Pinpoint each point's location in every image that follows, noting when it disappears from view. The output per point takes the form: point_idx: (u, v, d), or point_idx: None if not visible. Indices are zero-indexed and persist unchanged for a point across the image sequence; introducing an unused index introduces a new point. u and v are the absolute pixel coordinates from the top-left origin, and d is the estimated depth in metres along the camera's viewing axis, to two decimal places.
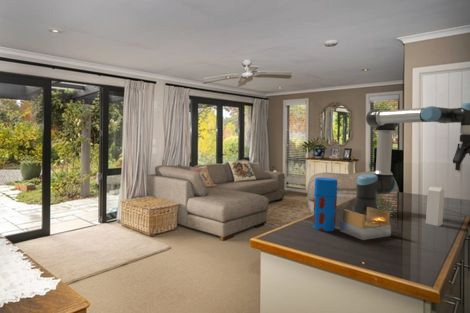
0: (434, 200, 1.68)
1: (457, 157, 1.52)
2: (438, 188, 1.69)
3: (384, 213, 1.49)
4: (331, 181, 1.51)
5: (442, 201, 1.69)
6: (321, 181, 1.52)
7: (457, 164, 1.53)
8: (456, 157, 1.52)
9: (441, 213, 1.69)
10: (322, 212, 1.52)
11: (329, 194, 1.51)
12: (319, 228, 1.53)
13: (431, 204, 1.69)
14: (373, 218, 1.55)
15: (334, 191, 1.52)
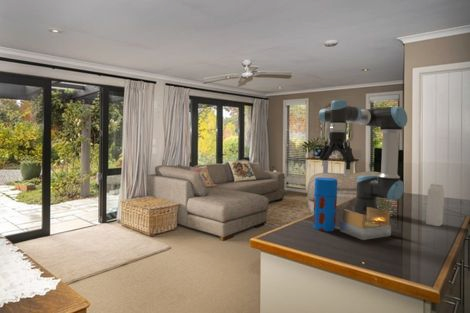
0: (434, 200, 1.68)
1: None
2: (438, 188, 1.69)
3: (384, 213, 1.49)
4: (331, 181, 1.51)
5: (442, 201, 1.69)
6: (321, 181, 1.52)
7: None
8: None
9: (441, 213, 1.69)
10: (322, 212, 1.52)
11: (329, 194, 1.51)
12: (319, 228, 1.53)
13: (431, 204, 1.69)
14: (373, 218, 1.55)
15: (334, 191, 1.52)
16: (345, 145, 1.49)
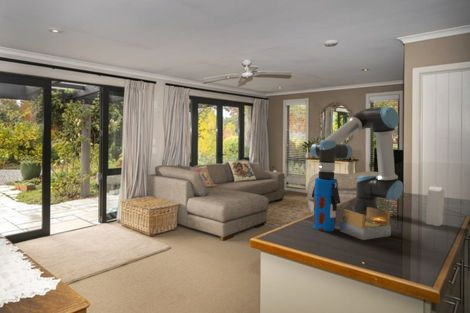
0: (434, 200, 1.68)
1: None
2: (438, 188, 1.69)
3: (384, 213, 1.49)
4: (331, 181, 1.51)
5: (442, 201, 1.69)
6: (321, 181, 1.52)
7: None
8: None
9: (441, 213, 1.69)
10: (322, 212, 1.52)
11: (329, 194, 1.51)
12: (319, 228, 1.53)
13: (431, 204, 1.69)
14: (373, 218, 1.55)
15: None
16: (333, 186, 1.50)
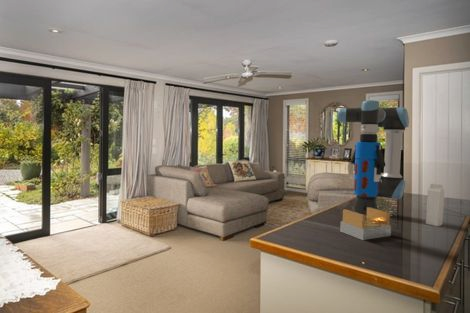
0: (434, 200, 1.68)
1: None
2: (438, 188, 1.69)
3: (384, 213, 1.49)
4: (375, 143, 1.43)
5: (442, 201, 1.69)
6: (364, 143, 1.44)
7: None
8: None
9: (441, 213, 1.69)
10: (365, 176, 1.44)
11: (373, 157, 1.43)
12: (361, 193, 1.46)
13: (431, 204, 1.69)
14: (373, 218, 1.55)
15: None
16: (377, 149, 1.42)
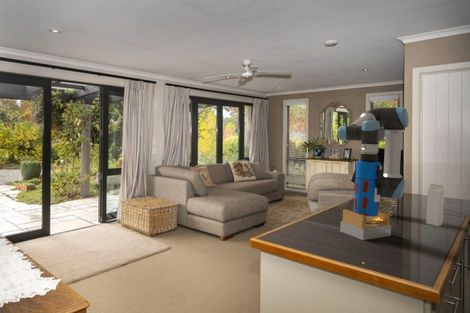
0: (434, 200, 1.68)
1: None
2: (438, 188, 1.69)
3: (384, 213, 1.49)
4: (375, 163, 1.43)
5: (442, 201, 1.69)
6: (364, 163, 1.44)
7: None
8: None
9: (441, 213, 1.69)
10: (365, 196, 1.44)
11: (373, 177, 1.43)
12: (362, 213, 1.46)
13: (431, 204, 1.69)
14: (373, 218, 1.55)
15: None
16: (377, 169, 1.42)
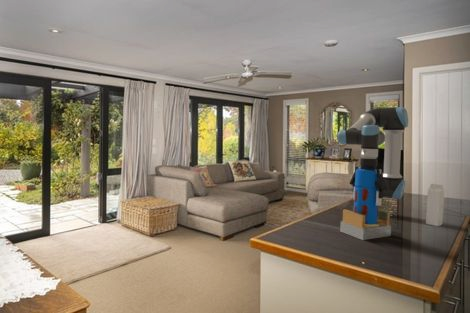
0: (434, 200, 1.68)
1: None
2: (438, 188, 1.69)
3: (384, 213, 1.49)
4: (375, 172, 1.44)
5: (442, 201, 1.69)
6: (364, 172, 1.45)
7: None
8: None
9: (441, 213, 1.69)
10: (365, 204, 1.45)
11: (373, 185, 1.44)
12: None
13: (431, 204, 1.69)
14: None
15: None
16: (377, 173, 1.42)
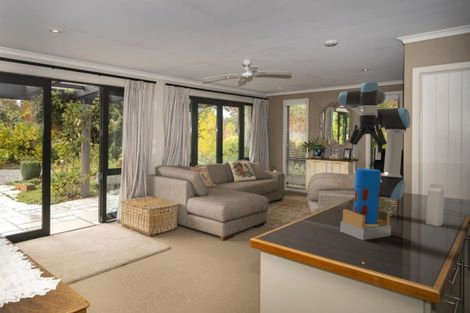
0: (434, 200, 1.68)
1: None
2: (438, 188, 1.69)
3: (384, 213, 1.49)
4: (375, 172, 1.44)
5: (442, 201, 1.69)
6: (364, 172, 1.45)
7: None
8: None
9: (441, 213, 1.69)
10: (365, 204, 1.45)
11: (373, 185, 1.44)
12: None
13: (431, 204, 1.69)
14: None
15: (378, 182, 1.45)
16: (377, 128, 1.46)
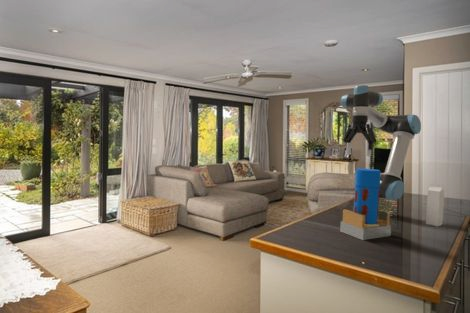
0: (434, 200, 1.68)
1: None
2: (438, 188, 1.69)
3: (384, 213, 1.49)
4: (375, 172, 1.44)
5: (442, 201, 1.69)
6: (364, 172, 1.45)
7: None
8: None
9: (441, 213, 1.69)
10: (365, 204, 1.45)
11: (373, 185, 1.44)
12: None
13: (431, 204, 1.69)
14: None
15: (378, 182, 1.45)
16: (367, 127, 1.60)
